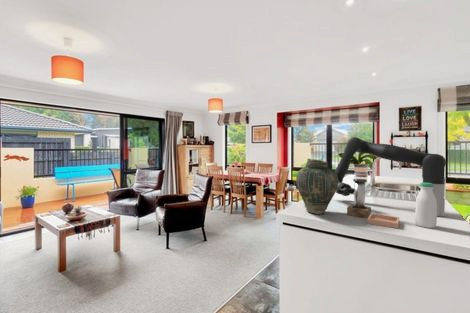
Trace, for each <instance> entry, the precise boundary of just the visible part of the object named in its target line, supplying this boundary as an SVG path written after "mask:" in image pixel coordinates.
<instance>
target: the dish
mask: <svg viewBox="0 0 470 313" xmlns="http://www.w3.org/2000/svg"><path fill="white" fill-rule="evenodd" d="M366 219H367V221H366V222H367V223H366V224H369V225H375V226H380V225H381V227H385V226H386V227H387V228H391V227H392V229H398V230H399V225H400V217H398V216H391V215H385V214H380V213H379V214H377V213H372V212H371V214H370V216H369V217H368V218H366Z"/></svg>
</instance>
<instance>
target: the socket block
mask: <svg viewBox="0 0 470 313" xmlns="http://www.w3.org/2000/svg"><path fill="white" fill-rule="evenodd" d="M371 213H372V206H366V205H365V208H364V209H359V208H354V203H351V204H350V205H348V206H347V208H346V215H347V216H353V217H358V218H365V219H368V217H369V216H370V214H371Z"/></svg>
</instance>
